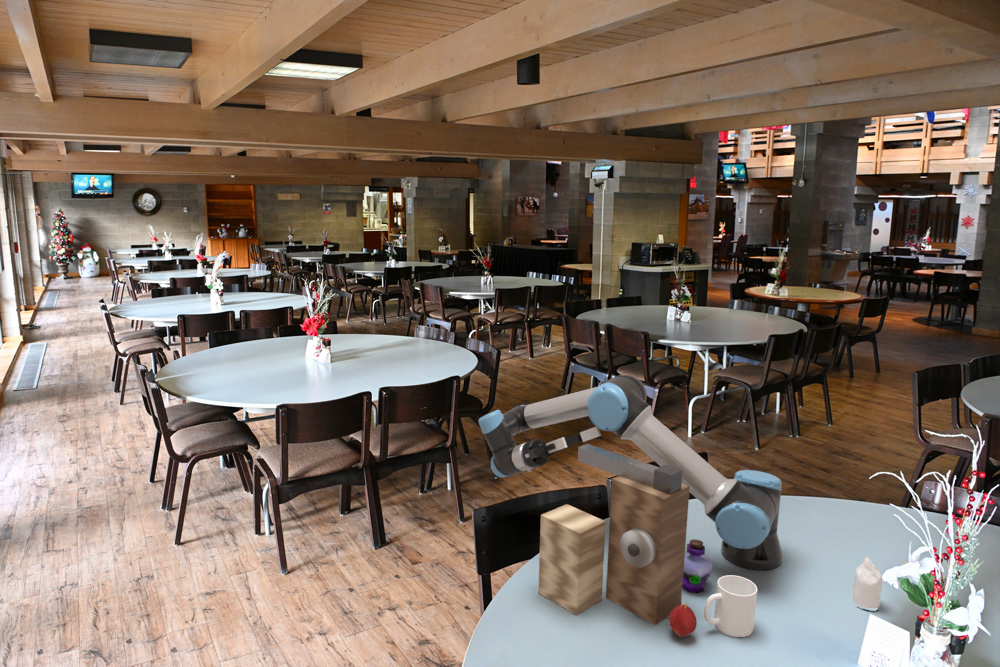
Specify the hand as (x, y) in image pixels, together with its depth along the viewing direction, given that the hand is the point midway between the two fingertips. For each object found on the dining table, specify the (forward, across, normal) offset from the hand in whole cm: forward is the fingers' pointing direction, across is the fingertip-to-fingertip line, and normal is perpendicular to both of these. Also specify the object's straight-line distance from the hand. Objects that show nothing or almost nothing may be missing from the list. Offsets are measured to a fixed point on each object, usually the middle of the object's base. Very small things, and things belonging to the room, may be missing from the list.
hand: (582, 436), depth 178 cm
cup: (+23, +2, -50) cm, 55 cm away
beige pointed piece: (+38, -31, -58) cm, 76 cm away
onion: (+19, +12, -48) cm, 53 cm away
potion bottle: (+11, -7, -43) cm, 45 cm away
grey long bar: (+17, +8, -12) cm, 22 cm away
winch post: (+8, +9, -41) cm, 43 cm away
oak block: (-4, +19, -34) cm, 39 cm away
